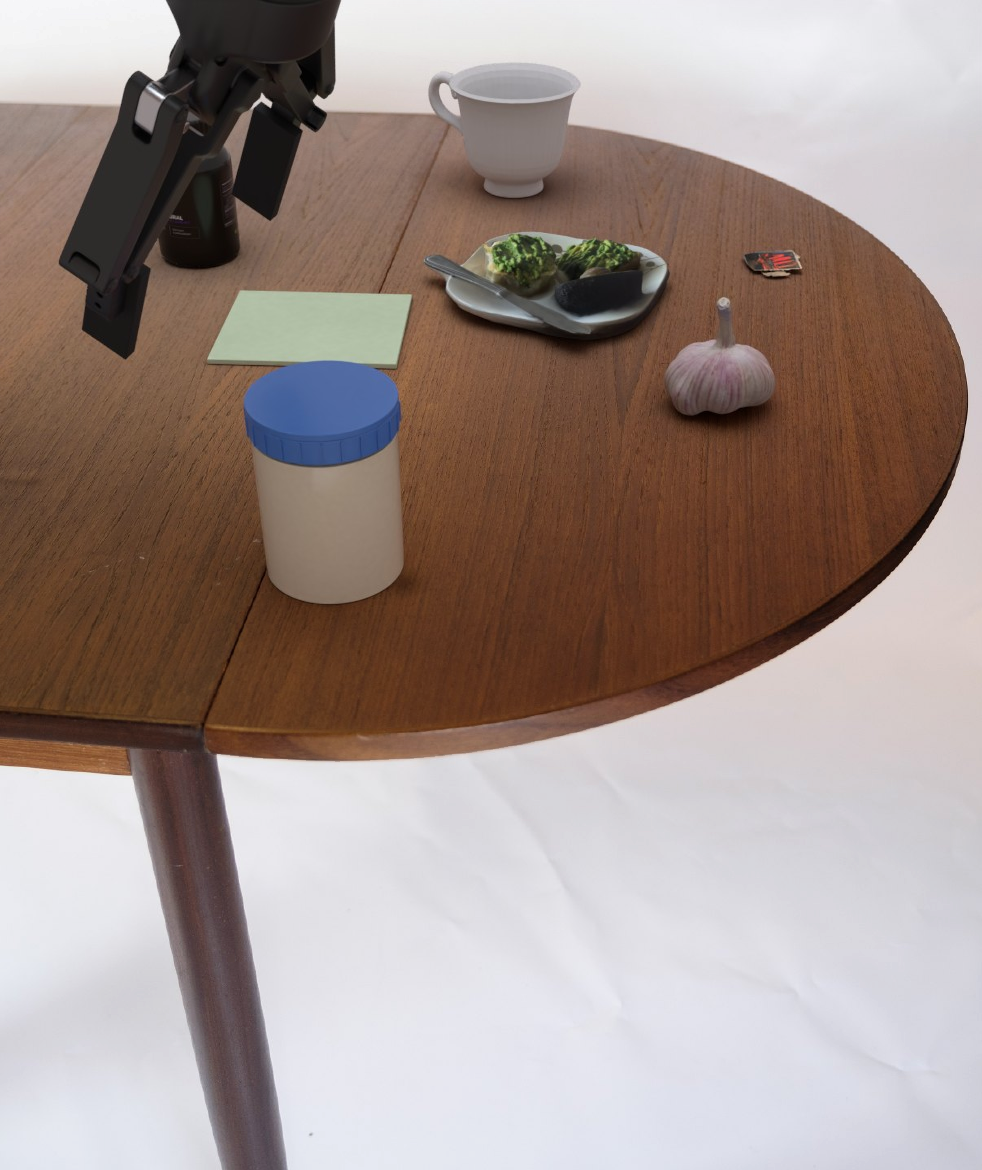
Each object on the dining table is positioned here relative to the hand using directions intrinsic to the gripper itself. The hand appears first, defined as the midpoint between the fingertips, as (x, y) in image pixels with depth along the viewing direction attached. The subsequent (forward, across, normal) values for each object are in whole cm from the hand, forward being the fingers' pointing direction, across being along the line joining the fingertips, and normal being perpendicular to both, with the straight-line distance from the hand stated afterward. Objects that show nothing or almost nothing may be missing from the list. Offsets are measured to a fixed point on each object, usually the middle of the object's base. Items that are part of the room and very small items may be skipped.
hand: (185, 269), depth 70 cm
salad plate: (+17, +34, -16) cm, 41 cm away
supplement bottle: (+31, +27, +12) cm, 43 cm away
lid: (0, -2, -10) cm, 11 cm away
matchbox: (+13, +47, -29) cm, 57 cm away
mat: (+22, +20, -2) cm, 29 cm away
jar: (+9, -5, -16) cm, 18 cm away
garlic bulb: (+7, +23, -30) cm, 39 cm away
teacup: (+28, +54, -4) cm, 61 cm away
